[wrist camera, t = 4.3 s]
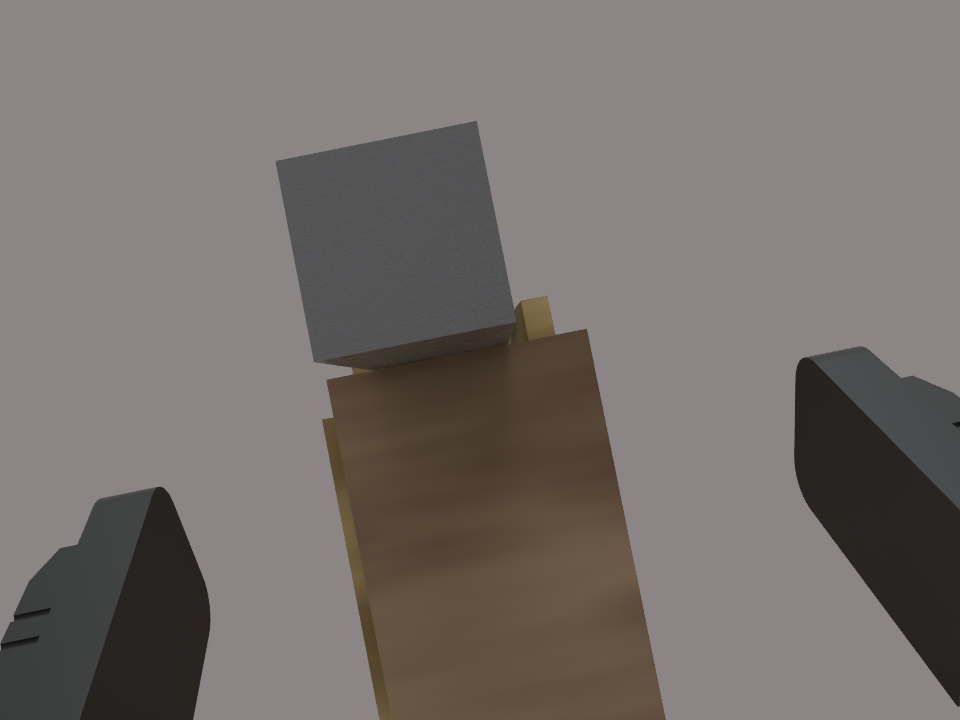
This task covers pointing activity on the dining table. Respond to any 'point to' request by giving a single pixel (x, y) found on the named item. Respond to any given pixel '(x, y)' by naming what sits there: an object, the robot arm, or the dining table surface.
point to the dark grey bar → (398, 249)
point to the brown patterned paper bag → (491, 535)
